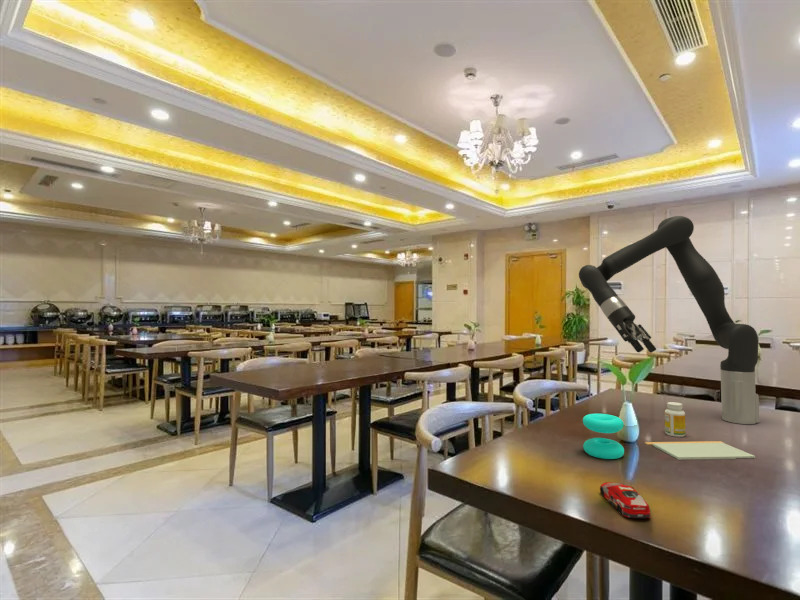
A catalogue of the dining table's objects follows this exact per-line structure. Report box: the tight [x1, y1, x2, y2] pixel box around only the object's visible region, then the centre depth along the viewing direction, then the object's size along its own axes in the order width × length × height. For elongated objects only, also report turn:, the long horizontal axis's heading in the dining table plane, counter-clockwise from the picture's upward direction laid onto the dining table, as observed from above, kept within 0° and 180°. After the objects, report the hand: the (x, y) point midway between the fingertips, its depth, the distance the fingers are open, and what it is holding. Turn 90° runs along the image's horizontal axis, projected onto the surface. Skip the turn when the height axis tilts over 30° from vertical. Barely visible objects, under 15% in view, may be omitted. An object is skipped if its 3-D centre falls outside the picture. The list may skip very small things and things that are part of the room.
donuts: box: [582, 413, 625, 460], centre depth 114 cm, size 10×10×10 cm
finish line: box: [644, 440, 725, 446], centre depth 121 cm, size 22×2×1 cm, turn 90°
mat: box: [652, 442, 756, 461], centre depth 114 cm, size 20×11×1 cm, turn 90°
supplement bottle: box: [664, 401, 687, 438], centre depth 130 cm, size 5×5×10 cm
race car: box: [599, 481, 651, 519], centre depth 85 cm, size 13×5×4 cm, turn 176°
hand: (647, 351), depth 138 cm, fingers open, 8 cm apart
